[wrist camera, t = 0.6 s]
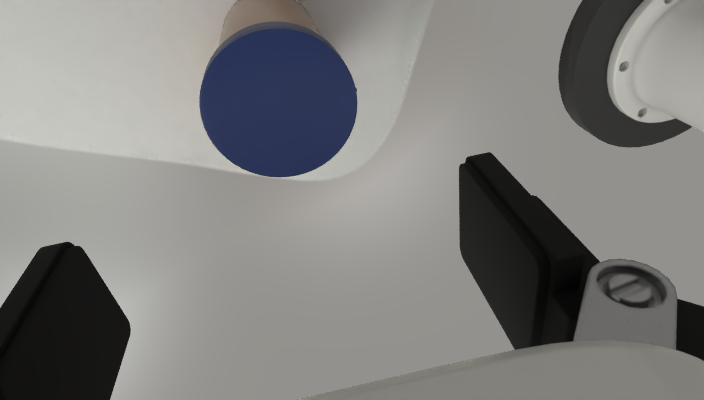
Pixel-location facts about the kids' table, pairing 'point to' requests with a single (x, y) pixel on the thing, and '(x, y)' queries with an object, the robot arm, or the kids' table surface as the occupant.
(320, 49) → the lid
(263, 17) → the jar
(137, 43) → the kids' table surface
